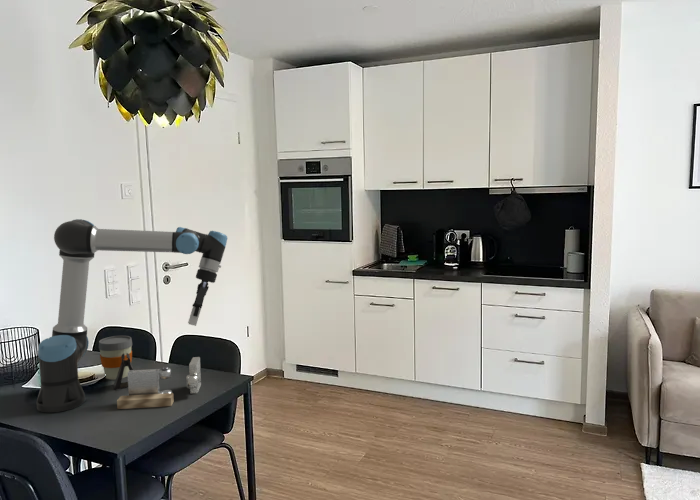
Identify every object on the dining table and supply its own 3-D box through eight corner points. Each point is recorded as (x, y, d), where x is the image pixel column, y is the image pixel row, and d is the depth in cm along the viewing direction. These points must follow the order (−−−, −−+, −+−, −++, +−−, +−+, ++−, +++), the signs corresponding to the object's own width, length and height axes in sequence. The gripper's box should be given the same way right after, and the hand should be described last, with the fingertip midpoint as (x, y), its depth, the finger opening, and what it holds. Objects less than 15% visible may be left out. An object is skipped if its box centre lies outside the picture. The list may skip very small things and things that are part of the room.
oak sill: (117, 409, 185) (116, 400, 185) (121, 404, 190) (120, 395, 189) (171, 406, 188) (171, 397, 187) (173, 401, 192) (173, 393, 192)
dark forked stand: (139, 381, 213) (137, 351, 211) (140, 386, 207) (138, 355, 206) (114, 384, 209) (112, 354, 208) (114, 389, 204) (112, 358, 202)
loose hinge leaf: (186, 398, 195) (185, 368, 193) (192, 385, 208) (191, 357, 207) (197, 397, 195) (196, 368, 194) (202, 384, 209) (201, 356, 207)
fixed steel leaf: (128, 403, 190) (126, 371, 189) (131, 399, 194) (129, 367, 193) (170, 401, 192) (169, 369, 191) (173, 396, 196) (171, 365, 195)
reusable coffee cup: (96, 375, 220) (93, 339, 218) (127, 368, 228) (125, 333, 226) (106, 383, 210) (104, 346, 209) (138, 375, 219) (136, 339, 217)
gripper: (219, 271, 198) (202, 328, 194) (215, 275, 221) (200, 325, 218) (199, 265, 196) (182, 323, 192) (197, 270, 219) (181, 320, 216)
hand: (191, 324), depth 205 cm, fingers open, 13 cm apart
